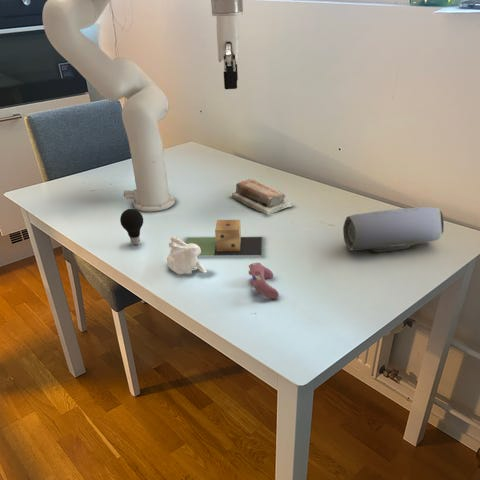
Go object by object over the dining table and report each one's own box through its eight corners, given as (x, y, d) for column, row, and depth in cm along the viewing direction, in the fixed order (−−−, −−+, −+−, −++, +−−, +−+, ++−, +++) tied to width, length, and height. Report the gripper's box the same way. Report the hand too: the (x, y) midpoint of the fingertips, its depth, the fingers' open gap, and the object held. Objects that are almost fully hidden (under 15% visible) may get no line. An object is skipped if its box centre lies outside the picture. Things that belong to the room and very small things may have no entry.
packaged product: (229, 183, 154) (255, 175, 159) (230, 198, 157) (255, 190, 161) (266, 200, 142) (293, 191, 147) (266, 216, 145) (292, 207, 150)
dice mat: (182, 257, 127) (182, 255, 127) (187, 239, 135) (187, 237, 135) (261, 256, 126) (261, 255, 125) (261, 238, 134) (261, 236, 134)
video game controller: (257, 283, 119) (243, 261, 115) (274, 274, 118) (260, 252, 114) (262, 307, 111) (247, 284, 107) (280, 298, 110) (266, 274, 106)
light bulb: (128, 252, 130) (122, 216, 124) (122, 242, 134) (115, 208, 128) (150, 246, 132) (144, 211, 126) (143, 237, 136) (137, 203, 131)
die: (216, 251, 128) (215, 230, 124) (218, 240, 133) (217, 219, 129) (240, 251, 127) (239, 229, 124) (241, 240, 132) (240, 219, 129)
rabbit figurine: (212, 273, 120) (209, 237, 114) (189, 287, 115) (185, 249, 110) (177, 258, 126) (173, 223, 121) (155, 270, 122) (149, 234, 116)
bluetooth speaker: (422, 234, 133) (430, 198, 127) (440, 251, 125) (448, 213, 119) (340, 243, 130) (344, 207, 124) (353, 261, 123) (357, 223, 117)
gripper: (213, 5, 127) (218, 79, 137) (209, 11, 113) (215, 92, 123) (243, 3, 127) (245, 77, 137) (242, 9, 113) (245, 91, 123)
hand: (231, 84), depth 130 cm, fingers open, 9 cm apart
